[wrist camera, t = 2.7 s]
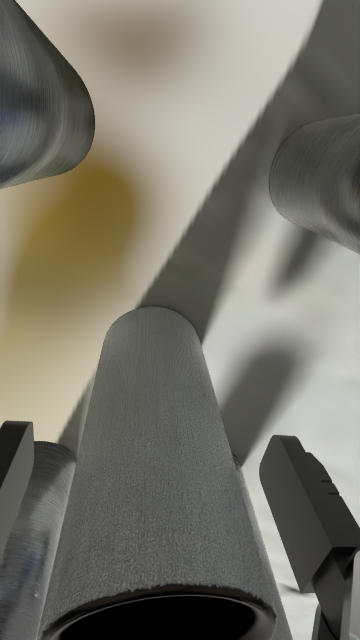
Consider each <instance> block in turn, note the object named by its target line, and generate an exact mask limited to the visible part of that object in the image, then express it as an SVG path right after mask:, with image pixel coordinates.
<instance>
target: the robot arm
mask: <svg viewBox="0 0 360 640" xmlns="http://www.w3.org/2000/svg"><path fill="white" fill-rule="evenodd" d="M33 463H34V436H33V423H32V422H25V421H24V422H23V421H5V422H4V423H3V425H2V426H1V428H0V561H1V558H2V555H3V552H4V549H5V546H6V544H7V541H8V538H9V535H10V532H11V530H12V527H13V524H14V521H15V518H16V516H17V513H18V510H19V507H20V504H21V501H22V499H23V496H24V493H25V490H26V487H27V485H28V482H29V479H30V476H31V473H32V468H33ZM259 475H260V481H261V484H262V487H263V490H264V493H265V495H266V498H267V501H268V504H269V506H270V509H271V512H272V515H273V517H274V520H275V523H276V526H277V529H278V531H279V534H280V537H281V540H282V542H283V545H284V548H285V551H286V553H287V556H288V559H289V562H290V564H291V567H292V570H293V573H294V575H295V578H296V581H297V584H298V587H299V589H300V592H301V593H316V596H317V598H318V601H319V604H318V606H317V609H316V614H315V620H314V627H313V633H312V640H360V528H359V526H358V524H357V522H356V521H355V519H354V517H353V516H352V514H351V512H350V510H349V509H348V507H347V505H346V504H345V502H344V500H343V499H342V497H341V496H339V492H338V490H337V488H336V487H335V485H334V483H332V480H331V478H330V476H329V475H328V473H327V471H326V469H325V468H324V466H323V465H322V464H321V463H320V462H319V461H318V460H317V459H316V458H315V457H314V456H313V455H312V454H311V453H309V452H305V450H304V448H303V446H302V445H301V443H300V441H299V439H298V438H297V437H295V436H284V435H273V436H272V437H271V439H270V442H269V444H268V447H267V449H266V451H265V454H264V456H263V458H262V461H261V463H260V468H259Z"/></svg>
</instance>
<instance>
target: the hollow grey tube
mask: <svg viewBox="0 0 360 640" xmlns="http://www.w3.org/2000/svg"><path fill="white" fill-rule="evenodd" d="M276 625H277V613H276V609H275V605H274V602H273V598H272V594H271V591H270V587H269V584H268V580H267V576H266V573H265V569H264V566H263V562H262V559H261V555H260V552H259V548H258V545H257V541H256V538H255V534H254V531H253V527H252V523H251V520H250V516H249V513H248V509H247V506H246V502H245V499H244V495H243V492H242V488H241V485H240V481H239V478H238V474H237V471H236V467H235V463H234V460H233V456H232V453H231V449H230V446H229V442H228V439H227V435H226V432H225V428H224V425H223V421H222V418H221V414H220V411H219V407H218V403H217V400H216V396H215V393H214V389H213V386H212V382H211V379H210V375H209V372H208V368H207V365H206V361H205V358H204V354H203V351H202V347H201V343H200V340H199V338H198V335H197V333H196V331H195V329H194V327H193V325H192V324H191V323H190V322H189V321H188V320H187V319H186V318H185V317H184V316H182V315H181V314H179V313H177V312H175V311H173V310H170V309H167V308H162V307H142V308H138V309H135V310H132V311H130V312H128V313H126V314H124V315H122V316H121V317H120V318H118V319H117V320H116V321H115V322H114V323H113V324H112V326H111V327H110V329H109V330H108V332H107V334H106V337H105V340H104V343H103V347H102V351H101V355H100V360H99V364H98V369H97V373H96V378H95V382H94V386H93V391H92V395H91V400H90V404H89V409H88V413H87V417H86V422H85V426H84V431H83V435H82V440H81V444H80V448H79V453H78V457H77V462H76V466H75V471H74V475H73V479H72V484H71V488H70V493H69V497H68V502H67V506H66V510H65V515H64V519H63V524H62V528H61V533H60V537H59V541H58V546H57V550H56V555H55V559H54V563H53V568H52V572H51V577H50V581H49V586H48V590H47V594H46V599H45V603H44V608H43V612H42V617H41V621H40V626H39V631H38V636H37V640H271V638H272V636H273V634H274V632H275V629H276Z"/></svg>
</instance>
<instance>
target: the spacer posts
mask: <svg viewBox="0 0 360 640" xmlns="http://www.w3.org/2000/svg"><path fill="white" fill-rule="evenodd" d="M94 131H95V115H94V109H93V104H92V101H91V98H90V95H89V93H88V90H87V88H86V86H85V84H84V82H83V81H82V79H81V77H80V76H79V75H78V73H77V72H76V71H75V69H74V68H73V67H72V66H71V65H70V64H69V63H68V61H67V60H66V59H65V58H64V57H63V55H61V53H60V52H59V51H58V50H57V48H56V47H55V46H54V45H53V44H52V43H51V42H50V40H49V39H48V38H47V37H46V36H45V35H44V34H43V32H42V31H41V30H40V29H39V28H38V26H37V25H36V24H35V23H34V22H33V21H32V19H31V18H30V17H29V16H28V15H27V14H26V12H25V11H24V10H23V9H22V8H21V7H20V5H19V4H18V3H17V2H16V1H15V0H0V189H3V188H6V187H11V186H15V185H19V184H23V183H27V182H31V181H35V180H39V179H43V178H47V177H51V176H55V175H59V174H62V173H65V172H68V171H69V170H72V169H73V168H75V167H76V166H77V165H78V164H79V163H80V162H81V161H82V160H83V159H84V158H85V156H86V155H87V153H88V151H89V150H90V147H91V144H92V142H93V137H94ZM269 191H270V196H271V200H272V202H273V204H274V206H275V208H276V210H277V211H278V212H279V213H280V214H281V215H282V216H283V217H284V218H286V219H287V220H289V221H291V222H293V223H295V224H297V225H299V226H301V227H304V228H306V229H308V230H310V231H312V232H314V233H316V234H318V235H320V236H322V237H325V238H327V239H329V240H331V241H333V242H335V243H337V244H339V245H341V246H344V247H346V248H348V249H350V250H352V251H354V252H356V253H358V254H360V113H358V114H353V115H347V116H342V117H336V118H331V119H326V120H320V121H315V122H312V123H309V124H307V125H305V126H302V127H301V128H299V129H298V130H296V131H295V132H294V133H293V134H291V135H290V136H289V137H288V138H287V139H286V140H285V142H284V143H283V144H282V146H281V147H280V149H279V150H278V152H277V154H276V156H275V158H274V160H273V163H272V166H271V170H270V176H269ZM232 456H233V460H234V463H235V467H236V471H237V474H238V478H239V481H240V485H241V488H242V492H243V495H244V499H245V502H246V506H247V509H248V513H249V516H250V520H251V523H252V527H253V531H254V534H255V538H256V541H257V545H258V548H259V552H260V555H261V559H262V562H263V566H264V569H265V573H266V576H267V580H268V584H269V587H270V591H271V594H272V598H273V602H274V605H275V609H276V613H277V625H276V629H275V632H274V634H273V636H272V638H271V640H293V638H292V635H291V632H290V628H289V625H288V622H287V619H286V615H285V612H284V609H283V605H282V602H281V599H280V595H279V592H278V589H277V585H276V582H275V579H274V575H273V572H272V569H271V565H270V562H269V559H268V555H267V552H266V549H265V545H264V542H263V539H262V535H261V532H260V529H259V526H258V522H257V519H256V516H255V512H254V509H253V506H252V502H251V499H250V496H249V492H248V489H247V486H246V482H245V479H244V476H243V472H242V469H241V466H240V462H239V460H238V459H237V457H235V456H234V455H233V454H232ZM75 466H76V461H75V458H74V456H73V455H72V453H71V452H70V451H69V450H67V449H66V448H64V447H63V446H61V445H58V444H56V443H51V442H45V441H34V463H33V468H32V473H31V476H30V479H29V482H28V485H27V487H26V490H25V493H24V496H23V499H22V501H21V504H20V507H19V510H18V513H17V516H16V518H15V521H14V524H13V527H12V530H11V532H10V535H9V538H8V541H7V544H6V546H5V549H4V552H3V555H2V558H1V561H0V640H37V636H38V631H39V626H40V621H41V617H42V612H43V608H44V603H45V599H46V594H47V590H48V586H49V581H50V577H51V572H52V568H53V563H54V559H55V555H56V550H57V546H58V541H59V537H60V533H61V528H62V524H63V519H64V515H65V510H66V506H67V502H68V497H69V493H70V488H71V484H72V479H73V475H74V471H75Z"/></svg>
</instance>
